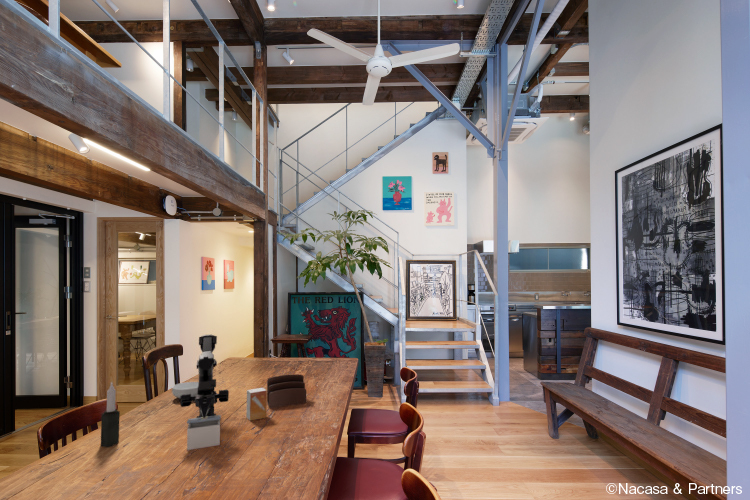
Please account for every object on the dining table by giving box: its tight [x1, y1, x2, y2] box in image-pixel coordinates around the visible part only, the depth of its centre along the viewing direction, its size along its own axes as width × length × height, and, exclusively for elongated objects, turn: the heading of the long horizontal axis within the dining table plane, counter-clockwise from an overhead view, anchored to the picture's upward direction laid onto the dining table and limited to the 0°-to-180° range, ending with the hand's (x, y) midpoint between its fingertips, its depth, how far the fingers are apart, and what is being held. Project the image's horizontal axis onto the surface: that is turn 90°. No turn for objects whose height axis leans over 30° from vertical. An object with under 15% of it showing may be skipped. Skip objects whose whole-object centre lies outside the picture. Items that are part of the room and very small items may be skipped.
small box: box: [246, 387, 268, 421], centre depth 190 cm, size 8×6×13 cm
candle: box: [100, 381, 121, 448], centre depth 162 cm, size 5×5×25 cm
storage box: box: [186, 419, 221, 451], centre depth 161 cm, size 8×12×8 cm, turn 112°
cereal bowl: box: [171, 381, 199, 399], centre depth 223 cm, size 17×17×7 cm
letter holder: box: [266, 374, 308, 409], centre depth 212 cm, size 10×20×14 cm, turn 110°
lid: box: [186, 414, 222, 425], centre depth 161 cm, size 9×12×1 cm
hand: (204, 417), depth 160 cm, fingers closed
